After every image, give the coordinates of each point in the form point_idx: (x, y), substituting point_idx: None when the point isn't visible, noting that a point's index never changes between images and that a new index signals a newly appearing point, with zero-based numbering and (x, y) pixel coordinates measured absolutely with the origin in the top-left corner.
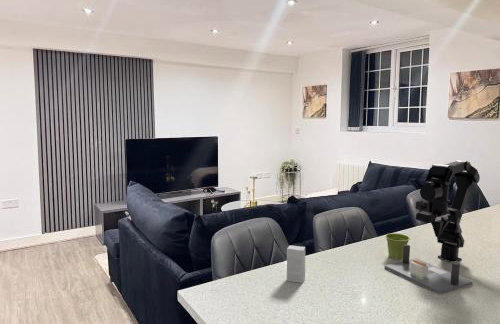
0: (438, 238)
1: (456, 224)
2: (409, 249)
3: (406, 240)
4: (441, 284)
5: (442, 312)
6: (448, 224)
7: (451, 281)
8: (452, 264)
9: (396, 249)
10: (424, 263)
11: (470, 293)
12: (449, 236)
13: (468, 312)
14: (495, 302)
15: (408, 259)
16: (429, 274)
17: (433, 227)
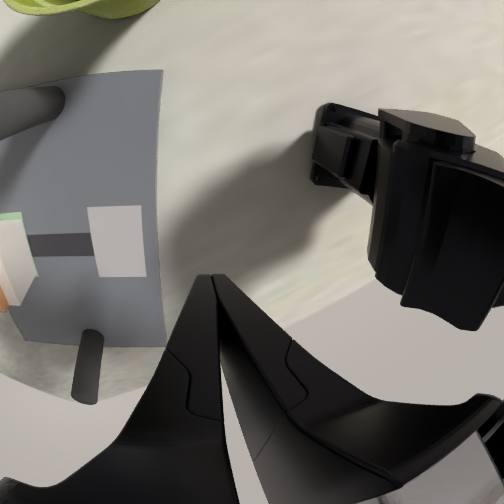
0: (393, 124)
1: (469, 329)
2: (7, 136)
3: (66, 11)
4: (50, 324)
5: (6, 365)
6: (483, 270)
7: (80, 341)
8: (71, 394)
9: (59, 1)
10: (1, 306)
11: (112, 358)
12: (384, 249)
13: (51, 384)
14: (135, 389)
15: (37, 125)
16: (56, 259)
17: (160, 373)
